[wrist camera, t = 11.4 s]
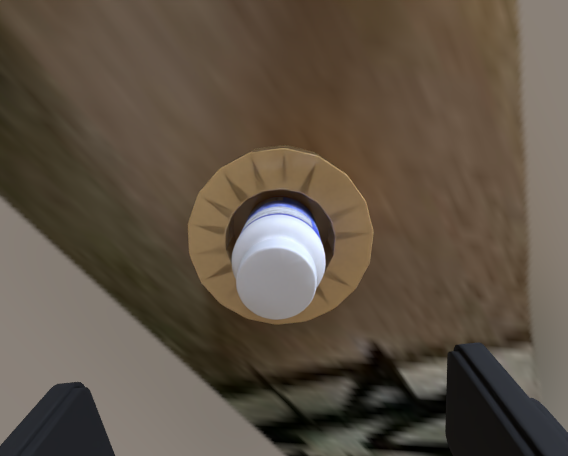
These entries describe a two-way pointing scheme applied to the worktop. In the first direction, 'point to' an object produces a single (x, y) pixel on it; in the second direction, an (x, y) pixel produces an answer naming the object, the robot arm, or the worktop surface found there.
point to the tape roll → (289, 182)
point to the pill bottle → (278, 258)
